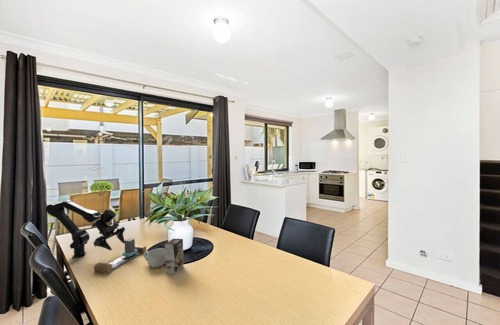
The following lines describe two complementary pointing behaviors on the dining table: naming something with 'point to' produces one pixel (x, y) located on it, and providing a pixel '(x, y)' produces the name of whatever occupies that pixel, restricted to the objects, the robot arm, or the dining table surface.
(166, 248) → the coffee box
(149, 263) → the teacup
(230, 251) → the dining table surface
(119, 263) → the rail
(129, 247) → the grey teal block
